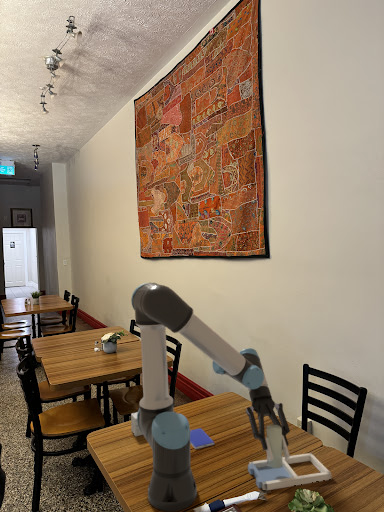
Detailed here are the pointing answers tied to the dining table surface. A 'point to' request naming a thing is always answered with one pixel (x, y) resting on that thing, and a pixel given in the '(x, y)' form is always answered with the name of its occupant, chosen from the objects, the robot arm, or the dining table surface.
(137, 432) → the skincare box
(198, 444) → the blue book
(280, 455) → the pale green cylinder
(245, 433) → the dining table surface
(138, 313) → the robot arm
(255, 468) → the bay rack
